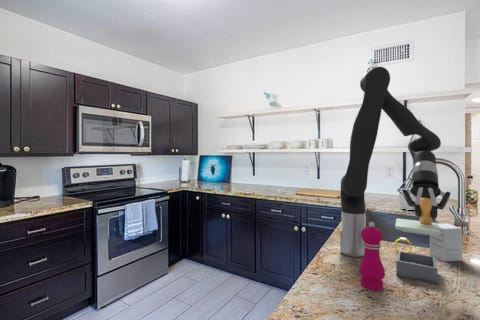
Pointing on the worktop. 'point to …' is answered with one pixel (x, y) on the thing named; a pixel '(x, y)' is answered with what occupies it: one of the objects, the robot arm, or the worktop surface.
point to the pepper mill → (371, 258)
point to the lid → (425, 221)
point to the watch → (403, 240)
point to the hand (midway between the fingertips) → (426, 217)
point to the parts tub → (416, 267)
